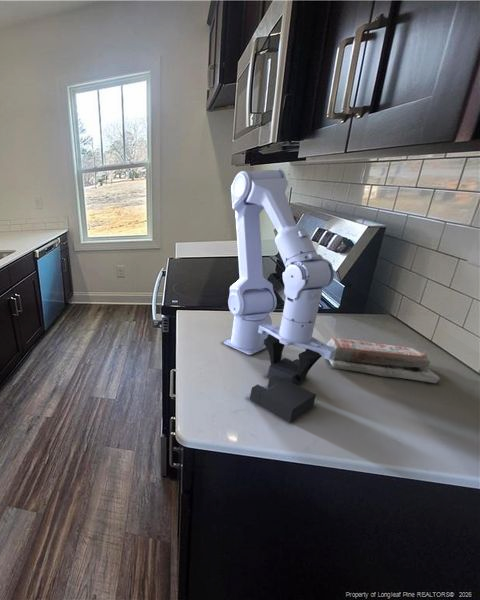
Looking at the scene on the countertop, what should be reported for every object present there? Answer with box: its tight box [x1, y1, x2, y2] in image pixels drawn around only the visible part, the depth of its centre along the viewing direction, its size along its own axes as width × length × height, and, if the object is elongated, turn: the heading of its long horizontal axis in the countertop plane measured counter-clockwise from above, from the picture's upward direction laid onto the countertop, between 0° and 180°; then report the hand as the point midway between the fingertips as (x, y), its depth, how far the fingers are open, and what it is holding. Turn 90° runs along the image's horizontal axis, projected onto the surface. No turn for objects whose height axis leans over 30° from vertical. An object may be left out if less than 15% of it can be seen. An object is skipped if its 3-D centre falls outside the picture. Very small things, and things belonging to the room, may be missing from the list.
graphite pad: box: [267, 357, 307, 385], centre depth 71 cm, size 5×8×3 cm, turn 119°
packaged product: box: [325, 337, 440, 384], centre depth 73 cm, size 18×5×10 cm
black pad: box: [249, 375, 317, 424], centre depth 63 cm, size 8×8×3 cm
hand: (287, 372), depth 70 cm, fingers closed on graphite pad, 5 cm apart
